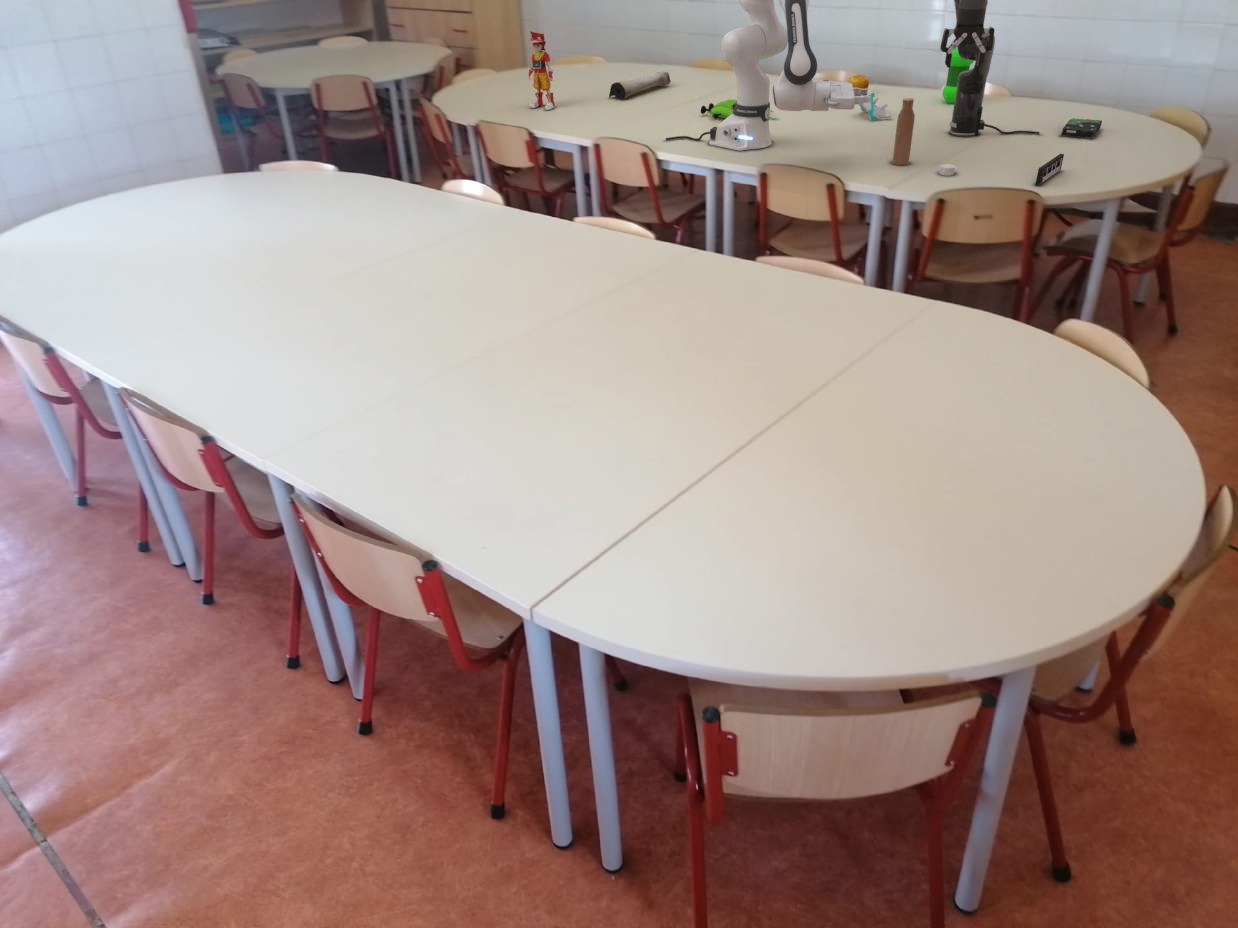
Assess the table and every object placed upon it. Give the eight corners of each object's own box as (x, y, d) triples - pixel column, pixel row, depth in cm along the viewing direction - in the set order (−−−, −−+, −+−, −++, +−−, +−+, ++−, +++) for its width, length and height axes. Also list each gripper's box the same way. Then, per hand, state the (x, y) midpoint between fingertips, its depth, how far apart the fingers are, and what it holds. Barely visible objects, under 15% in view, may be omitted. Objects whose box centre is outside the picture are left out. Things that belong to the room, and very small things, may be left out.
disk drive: (1093, 139, 305) (1100, 128, 315) (1095, 131, 303) (1102, 120, 313) (1060, 136, 309) (1068, 125, 319) (1062, 128, 308) (1070, 117, 318)
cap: (955, 172, 284) (957, 165, 282) (951, 176, 281) (952, 169, 279) (941, 170, 286) (942, 163, 285) (937, 174, 283) (938, 167, 282)
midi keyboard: (1039, 185, 269) (1043, 168, 266) (1035, 184, 270) (1038, 168, 267) (1060, 170, 279) (1064, 154, 277) (1056, 169, 280) (1060, 153, 277)
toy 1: (525, 109, 381) (517, 32, 364) (534, 104, 388) (527, 28, 371) (550, 110, 377) (543, 32, 360) (559, 105, 384) (553, 28, 367)
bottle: (889, 164, 295) (897, 100, 283) (896, 159, 298) (904, 96, 286) (904, 166, 292) (912, 102, 280) (911, 162, 295) (919, 98, 283)
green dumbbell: (973, 101, 354) (984, 32, 339) (955, 106, 349) (966, 36, 335) (952, 97, 361) (962, 29, 346) (934, 102, 356) (944, 33, 342)
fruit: (842, 86, 371) (854, 68, 368) (844, 90, 378) (856, 72, 375) (859, 97, 369) (871, 79, 366) (861, 100, 377) (873, 83, 374)
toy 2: (691, 117, 351) (761, 130, 338) (692, 103, 348) (762, 116, 335) (722, 107, 371) (789, 118, 359) (724, 93, 368) (791, 105, 356)
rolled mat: (651, 76, 408) (662, 61, 399) (662, 93, 408) (674, 79, 400) (605, 92, 391) (616, 77, 383) (617, 110, 391) (628, 95, 383)
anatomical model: (852, 89, 345) (878, 82, 344) (855, 116, 351) (880, 109, 350) (864, 98, 333) (891, 91, 332) (866, 126, 338) (893, 119, 338)
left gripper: (825, 93, 277) (871, 93, 275) (824, 78, 293) (867, 78, 291) (823, 115, 280) (869, 114, 278) (822, 99, 297) (865, 98, 295)
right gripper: (996, 3, 258) (986, 63, 267) (944, 5, 260) (936, 64, 269) (1001, 7, 252) (990, 69, 261) (948, 9, 254) (940, 70, 263)
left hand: (868, 95), depth 285 cm, fingers open, 8 cm apart
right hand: (963, 66), depth 265 cm, fingers open, 8 cm apart
